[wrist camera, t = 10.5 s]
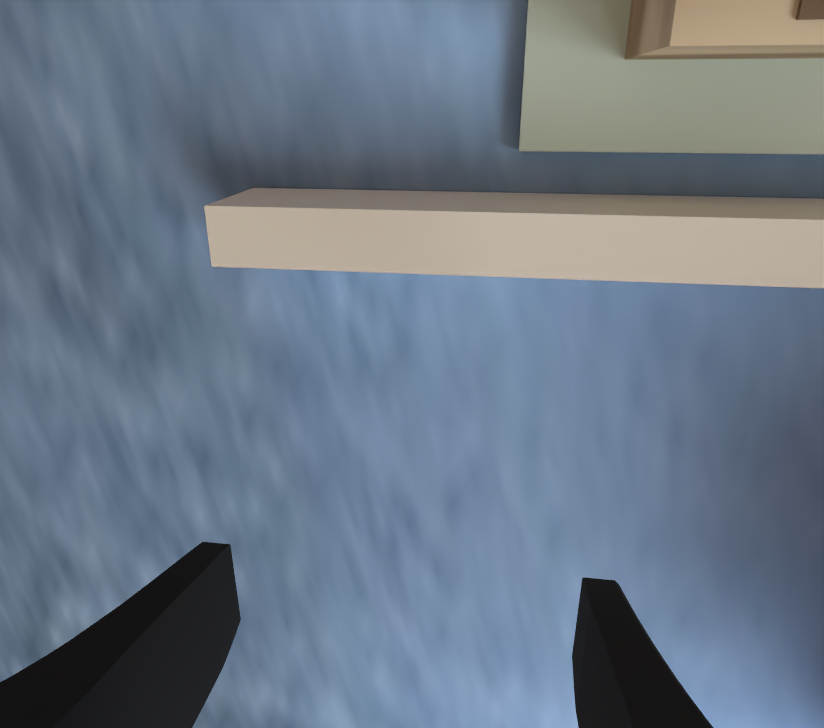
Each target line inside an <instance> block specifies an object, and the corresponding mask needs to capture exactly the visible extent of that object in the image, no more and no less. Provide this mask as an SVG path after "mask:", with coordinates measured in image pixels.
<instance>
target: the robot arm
mask: <svg viewBox="0 0 824 728" xmlns="http://www.w3.org/2000/svg"><path fill="white" fill-rule="evenodd" d="M240 620H241V619H240V611H239V604H238V597H237V590H236V582H235V575H234V568H233V561H232V553H231V546H230V544H220V543H209V542H202V543H201V544H199V545H198V546H197V547H195V548H194V549H193V550H191V551H190V552H189V553H187V554H186V555H185V556H183V557H182V558H181V559H180V560H178V561H177V562H176V563H174V564H173V565H172V566H171V567H169V568H168V569H167V570H166V571H164V572H163V573H162V574H160V575H159V576H158V577H157V578H155V579H154V580H153V581H151V582H150V583H149V584H148V585H146V586H145V587H144V588H142V589H141V590H140V591H138V592H137V593H136V594H134V595H133V596H132V597H130V598H129V599H128V600H127V601H125V602H124V603H123V604H121V605H120V606H119V607H117V608H116V609H114V610H113V611H111V612H110V613H109V614H107V615H106V616H104V617H103V618H101V619H100V620H99V621H97V622H96V623H94V624H93V625H91V626H90V627H89V628H87V629H86V630H84V631H83V632H82V633H80V634H79V635H77V636H76V637H74V638H73V639H71V640H70V641H68V642H67V643H65V644H64V645H62V646H61V647H59V648H58V649H56V650H54V651H53V652H51V653H50V654H48V655H46V656H45V657H43V658H42V659H40V660H38V661H36V662H35V663H33V664H31V665H30V666H28V667H26V668H25V669H23V670H21V671H20V672H18V673H16V674H15V675H13V676H11V677H9V678H8V679H6V680H4V681H2V682H0V728H192V727H193V725H194V723H195V721H196V719H197V717H198V715H199V713H200V711H201V709H202V708H203V706H204V704H205V702H206V700H207V698H208V696H209V694H210V692H211V690H212V688H213V686H214V684H215V682H216V680H217V678H218V676H219V674H220V672H221V670H222V668H223V666H224V663H225V661H226V658H227V656H228V653H229V650H230V648H231V645H232V642H233V640H234V637H235V634H236V631H237V628H238V626H239V623H240ZM572 660H573V677H574V692H575V706H576V714H577V720H578V726H579V728H713V727H712V725H711V724H710V723H709V722H708V720H707V719H706V718H705V716H704V715H703V714H702V712H701V711H700V710H699V708H698V707H697V706H696V704H695V703H694V702H693V700H692V699H691V698H690V696H689V695H688V694H687V692H686V691H685V689H684V688H683V687H682V685H681V684H680V682H679V681H678V680H677V678H676V677H675V675H674V674H673V672H672V671H671V669H670V668H669V666H668V665H667V663H666V662H665V660H664V659H663V657H662V656H661V654H660V653H659V652H658V650H657V648H656V647H655V645H654V644H653V642H652V641H651V639H650V637H649V636H648V634H647V633H646V631H645V629H644V628H643V626H642V624H641V623H640V621H639V619H638V618H637V616H636V614H635V613H634V611H633V609H632V607H631V606H630V604H629V602H628V600H627V598H626V597H625V595H624V593H623V591H622V589H621V587H620V586H619V584H618V583H617V582H616V581H615V580H604V579H593V578H582V586H581V593H580V601H579V608H578V616H577V624H576V631H575V639H574V646H573V654H572Z"/></svg>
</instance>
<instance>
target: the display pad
mask: <svg viewBox="0 0 824 728" xmlns="http://www.w3.org/2000/svg"><path fill="white" fill-rule="evenodd" d="M631 1H632V0H528V8H527V24H526V40H525V56H524V73H523V89H522V105H521V121H520V137H519V151H547V152H640V153H733V154H824V58H804V59H651V60H625V52H626V44H627V35H628V27H629V18H630V10H631Z"/></svg>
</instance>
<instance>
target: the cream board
mask: <svg viewBox="0 0 824 728" xmlns="http://www.w3.org/2000/svg"><path fill="white" fill-rule="evenodd" d="M204 209H205V217H206V225H207V233H208V241H209V249H210V257H211V265H212V267H237V268H265V269H293V270H321V271H349V272H378V273H406V274H434V275H462V276H490V277H518V278H546V279H574V280H602V281H630V282H658V283H686V284H714V285H742V286H770V287H798V288H824V199H821V198H768V197H716V196H663V195H610V194H557V193H504V192H451V191H399V190H346V189H293V188H252V189H249V190H246V191H243V192H241V193H238V194H235V195H232V196H230V197H227V198H224V199H221V200H219V201H216V202H213V203H210V204H208V205H205V206H204Z"/></svg>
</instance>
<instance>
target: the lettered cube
mask: <svg viewBox="0 0 824 728" xmlns="http://www.w3.org/2000/svg"><path fill="white" fill-rule="evenodd" d="M804 58H824V0H632V1H631V10H630V18H629V27H628V35H627V44H626V52H625V60H651V59H804Z"/></svg>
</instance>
